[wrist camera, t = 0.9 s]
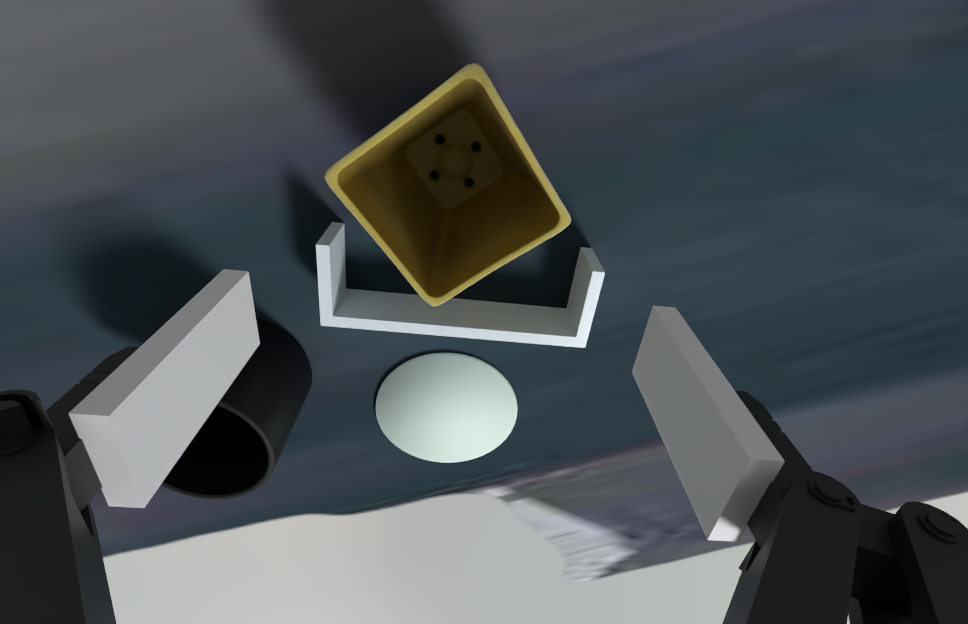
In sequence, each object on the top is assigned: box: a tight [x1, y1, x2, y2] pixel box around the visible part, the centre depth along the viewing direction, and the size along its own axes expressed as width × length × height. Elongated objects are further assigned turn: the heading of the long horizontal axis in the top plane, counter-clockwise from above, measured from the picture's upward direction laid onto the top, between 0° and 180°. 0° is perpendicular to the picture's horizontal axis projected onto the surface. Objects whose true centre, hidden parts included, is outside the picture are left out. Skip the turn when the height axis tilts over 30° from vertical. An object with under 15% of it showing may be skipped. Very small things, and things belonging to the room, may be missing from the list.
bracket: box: [316, 222, 605, 348], centre depth 33 cm, size 18×6×4 cm, turn 83°
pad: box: [376, 352, 517, 463], centre depth 41 cm, size 12×12×1 cm
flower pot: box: [325, 63, 571, 307], centre depth 27 cm, size 9×9×9 cm
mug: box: [161, 320, 312, 499], centre depth 35 cm, size 9×12×9 cm
